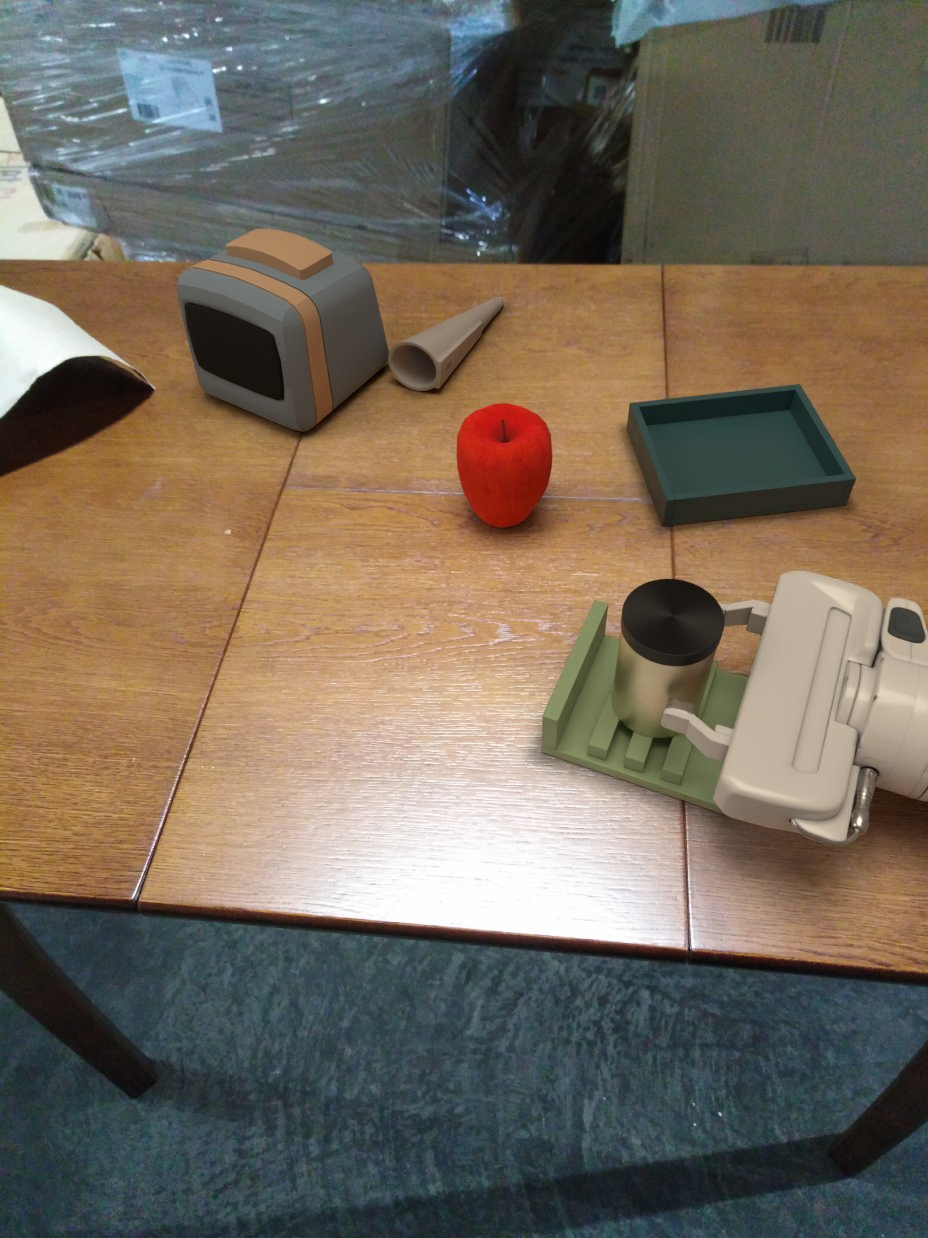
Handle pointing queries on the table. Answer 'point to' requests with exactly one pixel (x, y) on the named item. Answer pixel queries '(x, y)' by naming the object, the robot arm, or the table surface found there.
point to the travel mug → (664, 652)
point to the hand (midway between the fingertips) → (682, 659)
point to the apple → (504, 462)
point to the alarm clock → (282, 326)
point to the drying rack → (603, 743)
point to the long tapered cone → (439, 347)
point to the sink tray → (737, 455)
